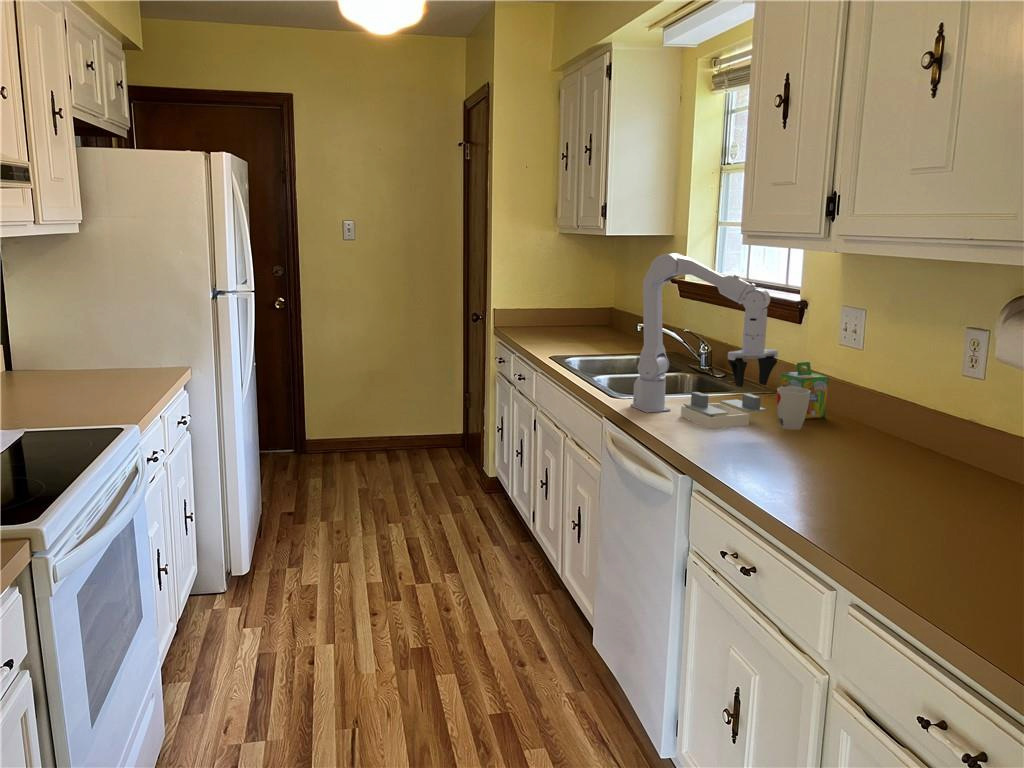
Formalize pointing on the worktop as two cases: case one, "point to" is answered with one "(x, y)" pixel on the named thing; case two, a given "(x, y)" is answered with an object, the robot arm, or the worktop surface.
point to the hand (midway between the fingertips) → (750, 385)
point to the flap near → (703, 404)
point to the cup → (792, 406)
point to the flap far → (746, 403)
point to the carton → (717, 417)
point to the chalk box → (809, 388)
